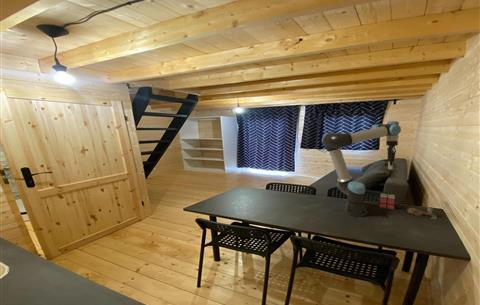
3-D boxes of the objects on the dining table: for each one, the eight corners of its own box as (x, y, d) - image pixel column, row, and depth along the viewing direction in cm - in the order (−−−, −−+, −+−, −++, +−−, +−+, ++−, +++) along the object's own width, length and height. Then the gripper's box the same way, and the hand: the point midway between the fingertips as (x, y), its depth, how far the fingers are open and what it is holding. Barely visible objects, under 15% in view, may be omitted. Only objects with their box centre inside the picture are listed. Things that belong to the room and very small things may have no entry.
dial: (407, 213, 154) (407, 205, 153) (407, 209, 161) (408, 201, 160) (432, 218, 145) (433, 210, 144) (431, 213, 152) (432, 205, 151)
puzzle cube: (394, 211, 162) (395, 199, 161) (379, 208, 168) (379, 196, 167) (394, 206, 170) (395, 195, 169) (379, 204, 176) (380, 193, 175)
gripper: (400, 141, 160) (398, 171, 164) (394, 139, 172) (393, 167, 176) (389, 141, 163) (387, 170, 166) (384, 139, 175) (382, 167, 178)
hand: (390, 169), depth 171 cm, fingers closed
